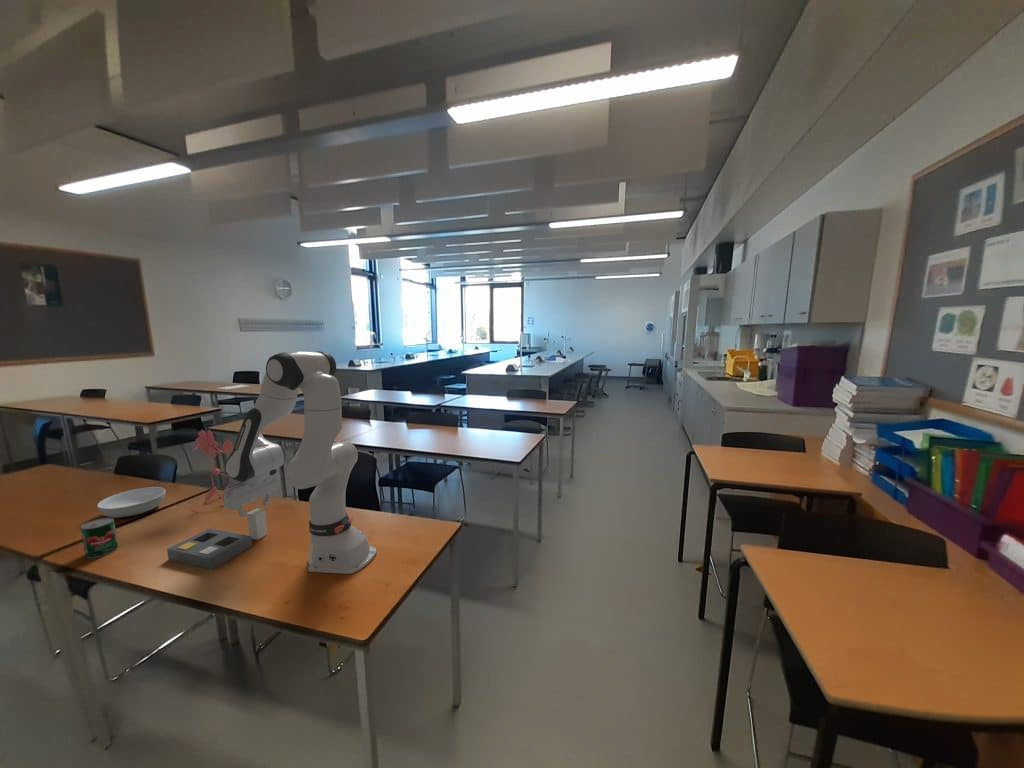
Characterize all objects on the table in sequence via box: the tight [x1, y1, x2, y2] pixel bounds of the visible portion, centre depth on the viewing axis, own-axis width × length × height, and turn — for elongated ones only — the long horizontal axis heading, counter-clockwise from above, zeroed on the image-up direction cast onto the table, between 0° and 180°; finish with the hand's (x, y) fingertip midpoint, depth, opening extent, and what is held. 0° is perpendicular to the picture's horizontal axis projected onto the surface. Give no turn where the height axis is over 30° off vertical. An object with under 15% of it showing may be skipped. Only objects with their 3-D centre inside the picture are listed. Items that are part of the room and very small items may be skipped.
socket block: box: [166, 528, 253, 571], centre depth 131 cm, size 20×14×4 cm
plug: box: [246, 508, 268, 541], centre depth 142 cm, size 4×4×10 cm
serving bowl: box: [96, 486, 167, 518], centre depth 161 cm, size 21×21×7 cm
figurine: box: [191, 429, 233, 502], centre depth 166 cm, size 15×26×35 cm, turn 72°
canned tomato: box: [80, 517, 119, 559], centre depth 131 cm, size 8×8×11 cm
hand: (254, 510), depth 141 cm, fingers open, 8 cm apart
